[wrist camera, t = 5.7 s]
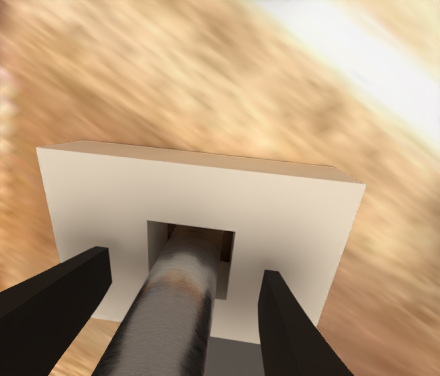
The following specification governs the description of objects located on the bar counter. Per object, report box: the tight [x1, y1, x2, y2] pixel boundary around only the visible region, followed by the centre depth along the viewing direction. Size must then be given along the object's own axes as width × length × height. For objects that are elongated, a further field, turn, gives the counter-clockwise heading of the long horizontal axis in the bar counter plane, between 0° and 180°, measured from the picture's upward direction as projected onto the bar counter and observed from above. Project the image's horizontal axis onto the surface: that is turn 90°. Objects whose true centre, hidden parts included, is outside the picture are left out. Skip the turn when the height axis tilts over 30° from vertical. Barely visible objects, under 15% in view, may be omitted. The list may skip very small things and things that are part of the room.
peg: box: [91, 224, 223, 376], centre depth 9 cm, size 3×3×9 cm
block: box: [36, 140, 367, 344], centre depth 12 cm, size 14×10×3 cm
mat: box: [205, 336, 265, 376], centre depth 16 cm, size 10×8×1 cm
